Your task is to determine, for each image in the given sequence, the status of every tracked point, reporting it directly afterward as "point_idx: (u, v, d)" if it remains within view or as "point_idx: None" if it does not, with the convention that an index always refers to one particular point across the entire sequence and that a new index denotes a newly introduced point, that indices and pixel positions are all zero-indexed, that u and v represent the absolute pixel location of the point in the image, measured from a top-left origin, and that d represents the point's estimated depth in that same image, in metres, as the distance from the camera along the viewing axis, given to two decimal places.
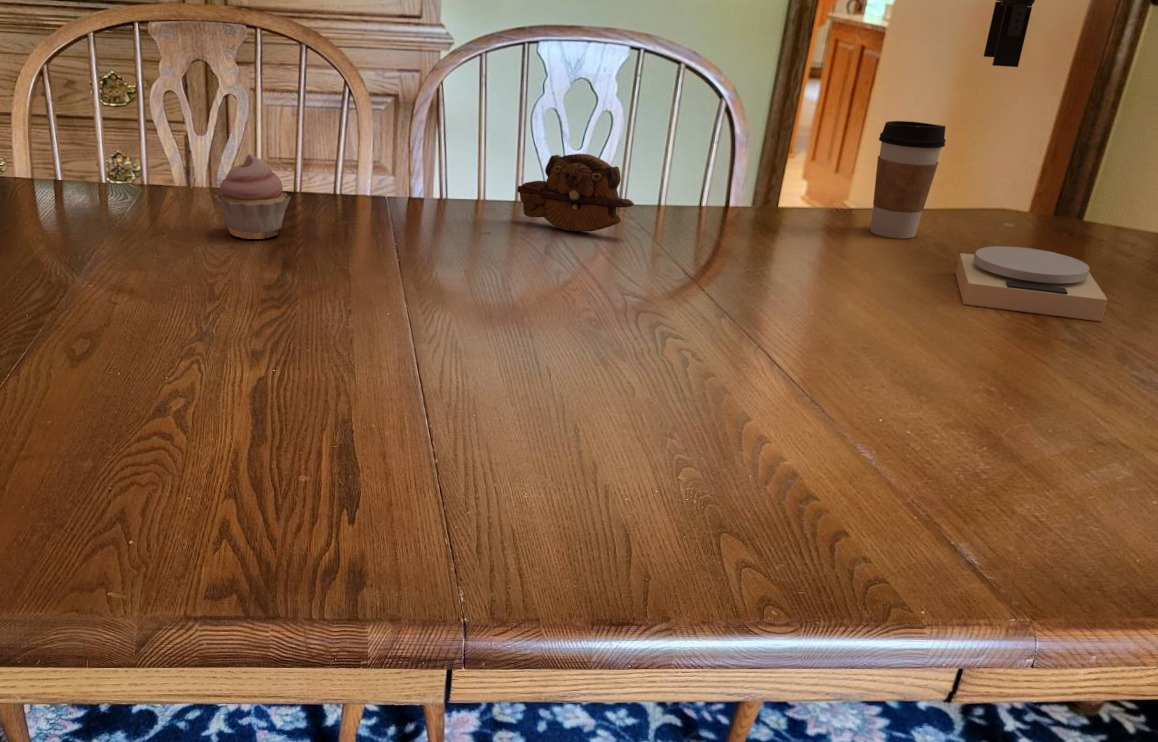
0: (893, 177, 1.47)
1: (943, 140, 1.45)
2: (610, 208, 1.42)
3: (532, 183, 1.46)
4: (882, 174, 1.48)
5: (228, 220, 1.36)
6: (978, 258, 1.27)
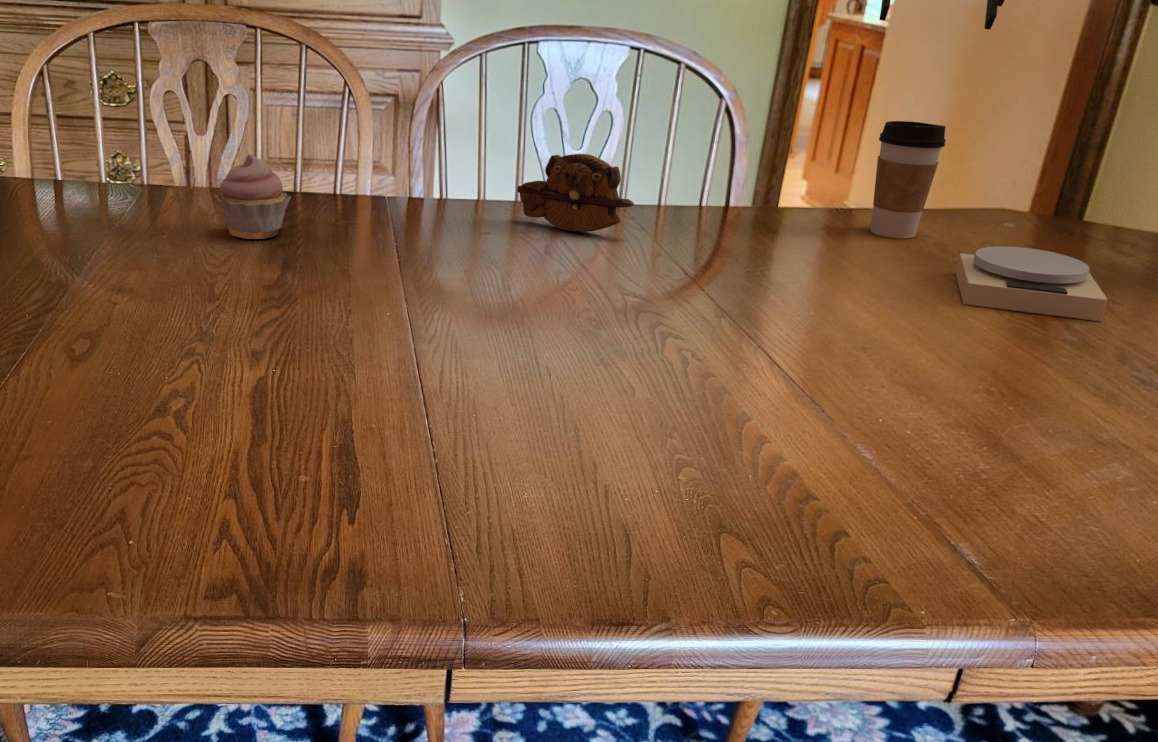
0: (893, 177, 1.47)
1: (943, 140, 1.45)
2: (610, 208, 1.42)
3: (532, 183, 1.46)
4: (882, 174, 1.48)
5: (228, 220, 1.36)
6: (978, 258, 1.27)
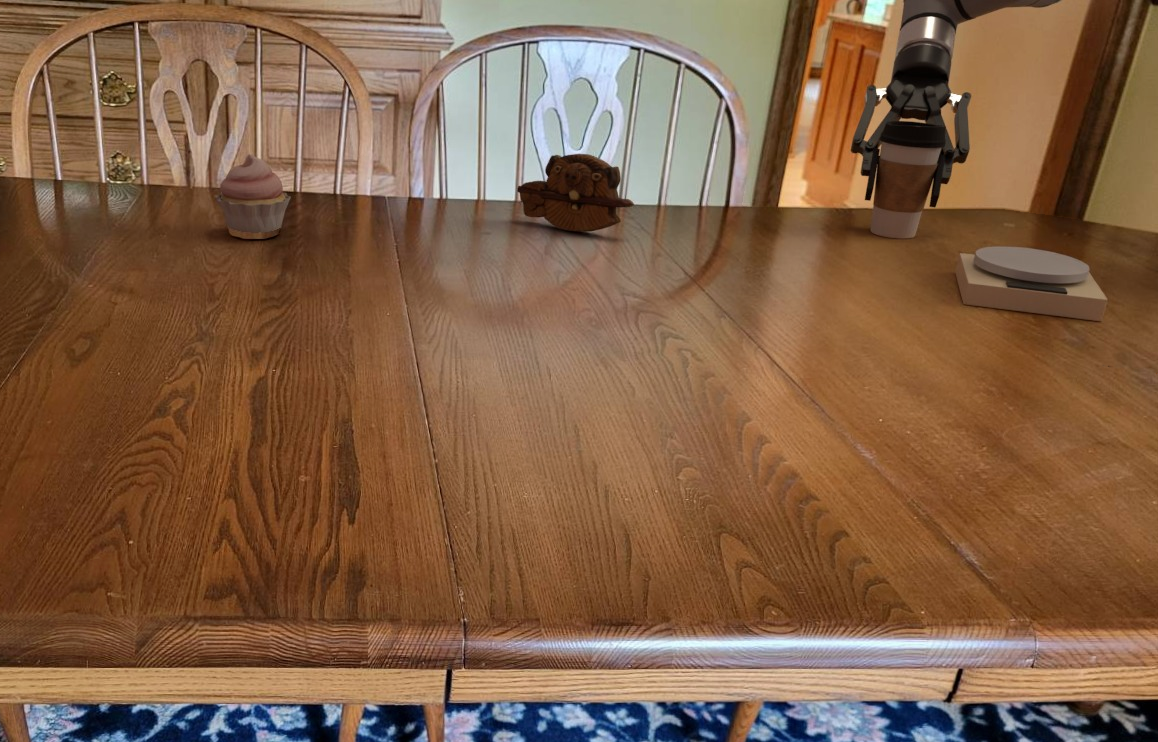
0: (893, 177, 1.47)
1: (943, 140, 1.45)
2: (610, 208, 1.42)
3: (532, 183, 1.46)
4: (882, 174, 1.48)
5: (228, 220, 1.36)
6: (978, 258, 1.27)
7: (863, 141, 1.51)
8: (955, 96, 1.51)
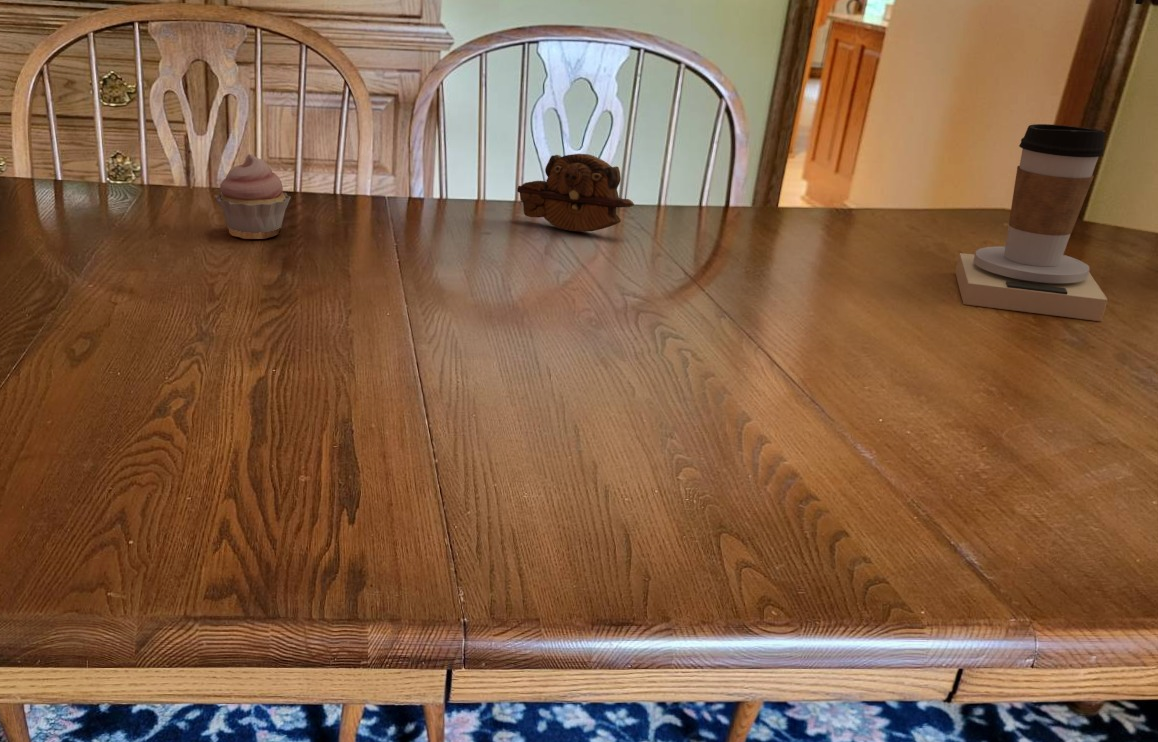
0: (1039, 192, 1.21)
1: (1103, 148, 1.19)
2: (610, 208, 1.42)
3: (532, 183, 1.46)
4: (1024, 189, 1.22)
5: (228, 220, 1.36)
6: (978, 258, 1.27)
7: None
8: None
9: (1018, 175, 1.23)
